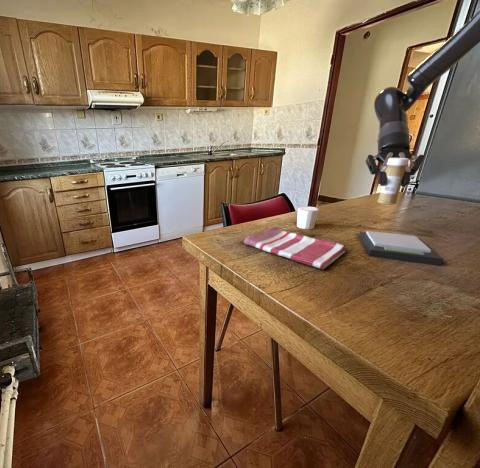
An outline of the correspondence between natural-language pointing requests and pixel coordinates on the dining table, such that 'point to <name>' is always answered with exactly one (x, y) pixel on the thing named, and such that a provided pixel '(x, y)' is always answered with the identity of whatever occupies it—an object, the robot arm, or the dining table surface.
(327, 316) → the dining table surface
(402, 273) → the dining table surface
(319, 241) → the dish towel
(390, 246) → the scale
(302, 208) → the white cup
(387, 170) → the sprinkles bottle
